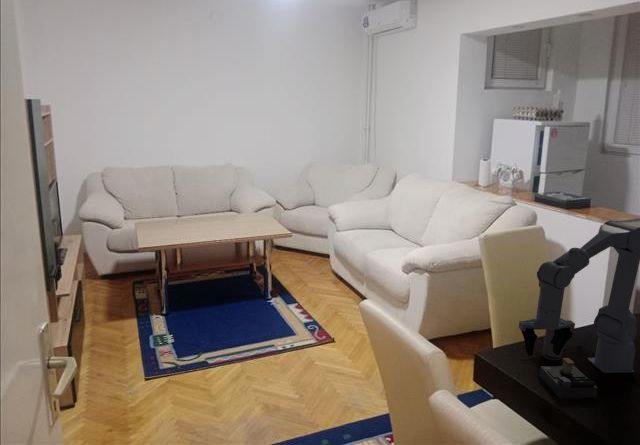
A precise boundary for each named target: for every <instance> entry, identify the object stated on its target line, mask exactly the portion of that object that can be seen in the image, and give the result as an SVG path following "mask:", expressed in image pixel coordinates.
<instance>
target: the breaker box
mask: <svg viewBox="0 0 640 445" xmlns="http://www.w3.org/2000/svg"><path fill="white" fill-rule="evenodd" d="M562 366H563V365H551V366H550V365H549V366H548V365H546V366H544V365H542V366H541V365H540V368H539V374H538V377H539V378H540V379H541V380H542V381H543V382H544V383H545V384H546V385H547V387H549V388H550V389H551V391H552V392H553V393H554V394H555V395H556V396H557V397H558V398H559V399H593V398H595V399H596V398H597V396H598V391H599V390H598V388H599V387H598V386H597V385H596V382H595V380H592V379H591V378H588V377H587V376H586V375H585V374H584V373H583V372H582V371H581V370H579V368H577V367H576V365H573V367H572V372H573V373H574V374H573V375H564V374H563V373H562V372H561V371H560V369H562Z"/></svg>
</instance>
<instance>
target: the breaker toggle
mask: <svg viewBox="0 0 640 445" xmlns="http://www.w3.org/2000/svg"><path fill="white" fill-rule="evenodd" d="M561 360H562V365H561V366H562V369H560V371H561V372H562V373H563V374H564V375H573V374H574V373H573V372H572V367H573V366H575V362H574V361H573V360H572V359H570V358H569V357H562V358H561Z"/></svg>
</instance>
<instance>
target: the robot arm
mask: <svg viewBox="0 0 640 445" xmlns="http://www.w3.org/2000/svg"><path fill="white" fill-rule="evenodd" d="M609 248H613V249H614V250H615V252H617V254H618V257H617V262H616V266H615V269H614V270H615V271H614V276H613V279H612V280H613V281H612V284H611V288H610V294H609V298H608V301H607V302H608V303H607V305H604V306H602V307H600V308H598V311H597V314H596V316H595V318H594V320H593V329H594V331H596V335H597V336H598V338H597V345H596V349H595V354H594V357H588V358H587V361H589V362H590V363H591V364H592V365H593V366H595V367H596V368H597V369H598V370H599V371H600V372H602V373H604V374H611V373H613V374H614V373H617V374H619V373H635V372H634V369H633V366H634V363H635V362H634V361H635V355H636V346H635V343H634V340H635V338H636V336H637V321H638V320H637V318H636V316H635V315H634V314H633V312H632V311H631V310H630V306H631V300H632V297H633V292H634V288H635V285H636V284H635V283H636V279H637V275H638V270H639V266H640V227H637V226H633V225H630V224H625V223H622V222H619V221H615V220H612V219H610V220H606V221H605V222H604V223H603V224H601V225H600V226H599V229H598V232H597V233H596V235H595V236H593V237H592V238H591V239H589V240H588V241H586V243H585V244H583V245H582V246H581V247H580V248H579V247H571V248H570V249H568V250H567V252H565V253H563V254H562V255H561V256H559V257H558V258H556V259H554V260H553V261H546V262H543V263H542V264H541V265H540V266H539V268H538V271H537V272H536V278H537V280H538V287H539V288H540V289H539V293H538V294H539V295H538V302H537V307H536V308H537V309H536V316H535V318H531V319H527V320H519V322H518V323H519V324H518V329H519V330H520V331H521V334H522V337H523V340H524V345H525V353H526V354H527V355H528V356H529V357H531V356H533V354H534V350H535V343H536V341H537V338H538V334H536V331H535V330H545V331H546V330H554V344H553V352H554V353H555V354H556V355H559V354H560V352H561V350H562V348H563V349H564V347H565V345H566V343H567V342H568V341H569V340H570V339H571V338H572V337H573V332H572V331H575V325H576V323H575V322H574V321H573V320H567V319H566V320H565V319H563V320H560V318H561V315H562V314H561V313H562V308H563V302H564V293H565V288H567V287H569V285H570V284H571V282H572V280H573V279H574V278H575V275H576V274H577V273H579V272H580V271H582V270H583V269H585V268H586V267H588V266H589V264H590V259H591V258H594V257H595V256H597V255H598V254H600V253H602V252H604V251H606V250H607V249H609Z"/></svg>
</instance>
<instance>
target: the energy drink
mask: <svg viewBox="0 0 640 445" xmlns="http://www.w3.org/2000/svg"><path fill="white" fill-rule="evenodd" d="M560 320H564V319H563V318H561V317H560ZM553 344H554V330H546V329H545V334H544V339H543V346H542V347H543V348H542V353H541V354H542V356H543V358H545V359H547V360H549V361H552V362H553V361H554V362H555V361H556V362H557V361H560V360H562V358H563V350H564V347H563V348H562V350H561V352H560V354H559V355H556V354H555V353H554V352H553Z"/></svg>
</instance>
